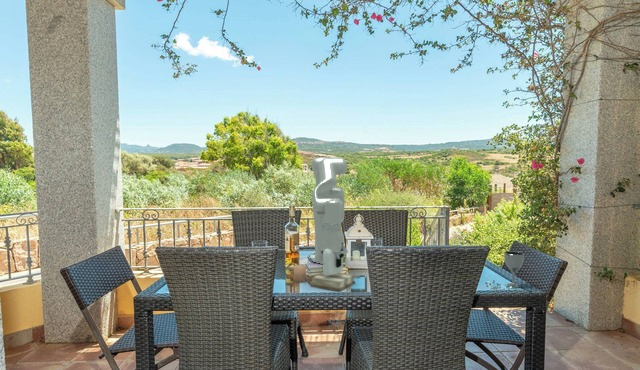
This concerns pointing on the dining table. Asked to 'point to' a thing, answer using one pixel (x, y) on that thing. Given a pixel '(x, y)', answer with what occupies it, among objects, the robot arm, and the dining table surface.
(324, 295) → the dining table surface
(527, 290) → the dining table surface
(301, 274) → the tan short cylinder
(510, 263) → the wine glass
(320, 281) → the beige ridged block
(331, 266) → the grey rounded block
